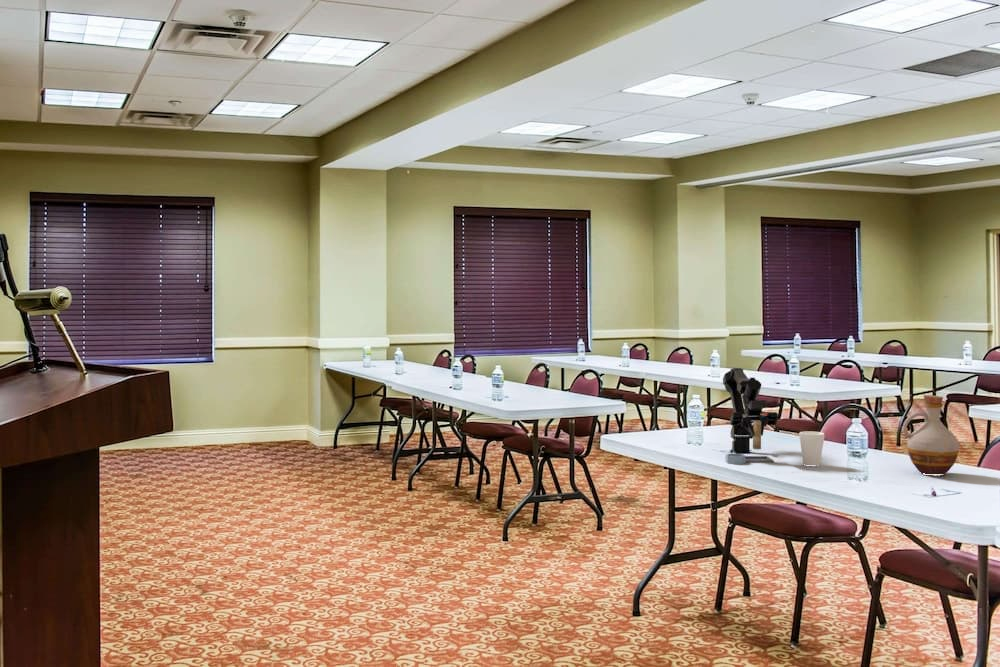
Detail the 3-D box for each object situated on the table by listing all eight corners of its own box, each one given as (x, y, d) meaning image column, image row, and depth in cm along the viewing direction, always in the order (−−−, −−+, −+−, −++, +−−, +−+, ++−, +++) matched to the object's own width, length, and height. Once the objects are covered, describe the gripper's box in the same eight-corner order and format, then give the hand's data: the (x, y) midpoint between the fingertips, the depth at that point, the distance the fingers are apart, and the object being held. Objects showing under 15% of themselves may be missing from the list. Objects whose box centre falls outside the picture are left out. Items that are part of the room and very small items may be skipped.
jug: (906, 477, 340) (907, 397, 339) (897, 468, 358) (898, 392, 356) (964, 479, 336) (965, 398, 335) (952, 470, 353) (953, 393, 352)
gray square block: (741, 463, 372) (741, 453, 372) (747, 466, 365) (747, 456, 365) (723, 463, 372) (723, 453, 372) (729, 466, 365) (729, 456, 365)
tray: (740, 460, 378) (740, 456, 378) (767, 460, 378) (767, 456, 378) (746, 465, 368) (746, 460, 368) (773, 464, 368) (773, 460, 368)
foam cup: (825, 464, 369) (825, 432, 368) (822, 468, 360) (823, 435, 360) (800, 462, 373) (800, 430, 372) (797, 466, 364) (798, 434, 364)
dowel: (757, 447, 375) (757, 421, 375) (762, 449, 372) (762, 422, 372) (751, 448, 374) (751, 421, 373) (756, 449, 371) (756, 422, 370)
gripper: (731, 392, 376) (738, 423, 366) (777, 392, 376) (785, 423, 365) (727, 409, 384) (733, 439, 374) (771, 409, 384) (779, 439, 373)
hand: (757, 435), depth 371 cm, fingers closed on dowel, 3 cm apart
